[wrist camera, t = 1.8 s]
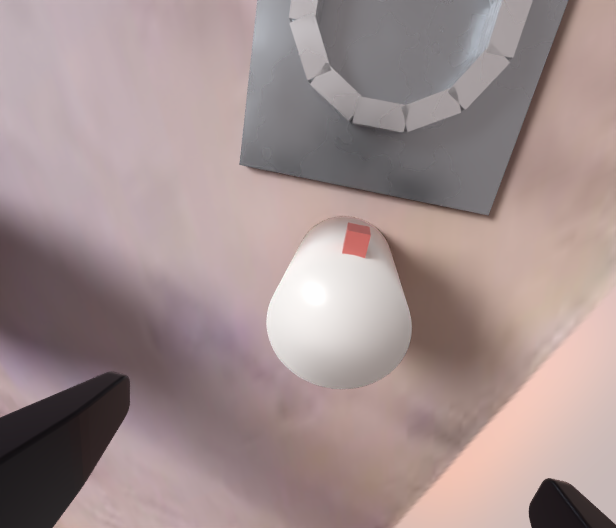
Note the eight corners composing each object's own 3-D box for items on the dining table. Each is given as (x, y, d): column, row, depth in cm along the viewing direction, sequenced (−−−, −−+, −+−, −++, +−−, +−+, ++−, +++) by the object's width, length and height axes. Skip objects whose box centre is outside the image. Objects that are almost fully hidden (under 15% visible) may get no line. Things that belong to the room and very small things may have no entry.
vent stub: (378, 313, 19) (389, 402, 13) (290, 294, 20) (258, 371, 13) (407, 212, 17) (439, 256, 11) (309, 191, 18) (281, 222, 11)
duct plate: (484, 212, 17) (501, 222, 15) (243, 164, 18) (229, 166, 16) (629, -186, 12) (682, -249, 10) (287, -232, 13) (275, -300, 11)
